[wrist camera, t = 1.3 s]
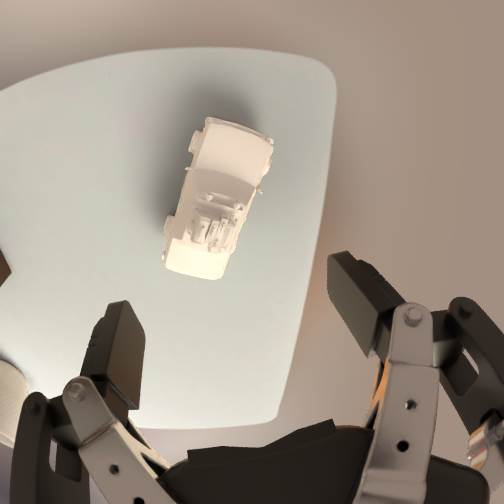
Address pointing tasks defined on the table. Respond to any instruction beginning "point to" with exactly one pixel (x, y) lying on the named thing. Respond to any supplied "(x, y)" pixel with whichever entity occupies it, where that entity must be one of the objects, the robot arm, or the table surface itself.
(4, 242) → the table surface
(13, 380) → the mug
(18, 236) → the table surface
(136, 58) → the table surface
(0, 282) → the stand
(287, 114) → the table surface
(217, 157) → the toy car
